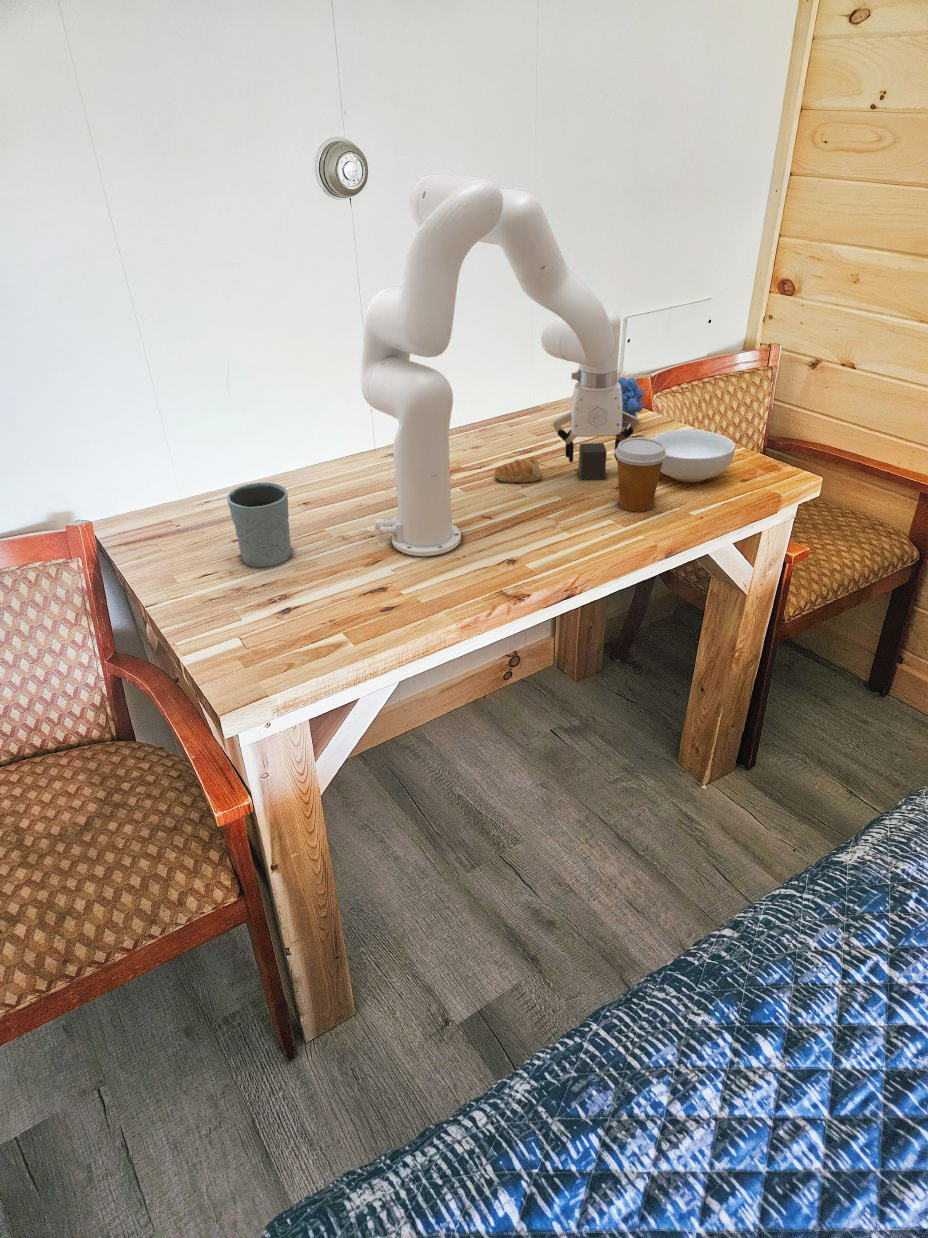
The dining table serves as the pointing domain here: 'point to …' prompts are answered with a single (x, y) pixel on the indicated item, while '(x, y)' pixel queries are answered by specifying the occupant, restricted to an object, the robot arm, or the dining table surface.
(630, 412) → the grapes
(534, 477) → the pastry
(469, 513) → the dining table surface
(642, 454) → the disposable coffee cup
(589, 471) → the black block
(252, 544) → the grey embossed cup
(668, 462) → the cereal bowl
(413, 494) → the robot arm
